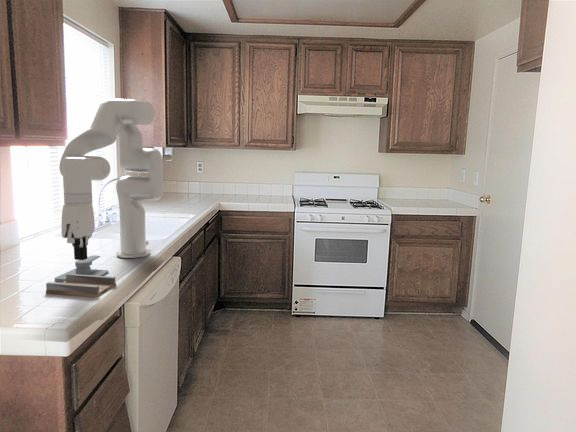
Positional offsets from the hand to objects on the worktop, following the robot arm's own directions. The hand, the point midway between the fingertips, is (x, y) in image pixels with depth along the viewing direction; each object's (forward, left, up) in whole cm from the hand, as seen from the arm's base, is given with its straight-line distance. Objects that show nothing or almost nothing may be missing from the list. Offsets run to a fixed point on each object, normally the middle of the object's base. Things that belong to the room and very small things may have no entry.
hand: (80, 259), depth 130 cm
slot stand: (0, 0, -10) cm, 10 cm away
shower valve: (-21, -8, -7) cm, 23 cm away
